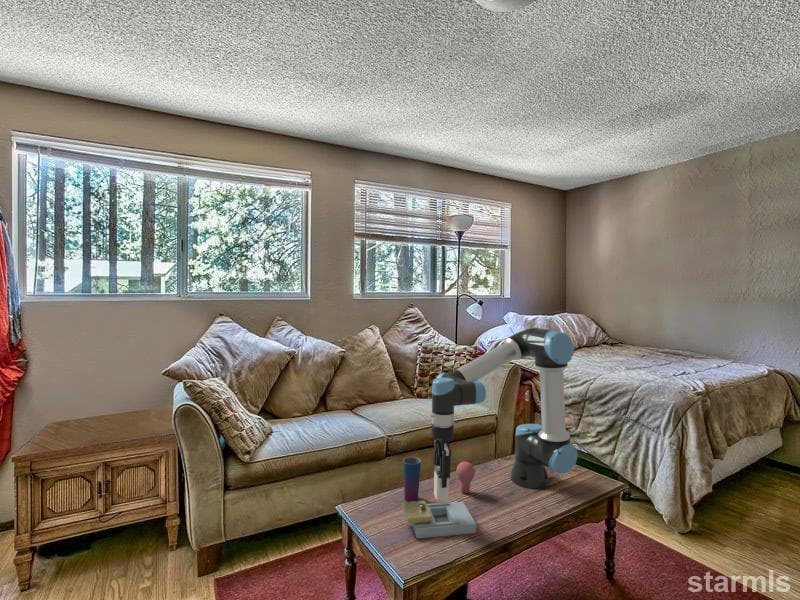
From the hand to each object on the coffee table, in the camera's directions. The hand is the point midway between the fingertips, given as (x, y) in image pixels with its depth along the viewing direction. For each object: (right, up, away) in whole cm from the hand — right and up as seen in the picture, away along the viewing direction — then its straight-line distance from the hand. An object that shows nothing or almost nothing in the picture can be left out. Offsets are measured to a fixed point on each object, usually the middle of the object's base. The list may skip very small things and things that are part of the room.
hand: (441, 492), depth 141 cm
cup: (-10, -10, +16) cm, 22 cm away
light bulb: (+12, -10, +22) cm, 27 cm away
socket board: (0, -11, +1) cm, 11 cm away
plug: (0, -2, 0) cm, 2 cm away
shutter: (-8, -8, -1) cm, 12 cm away
